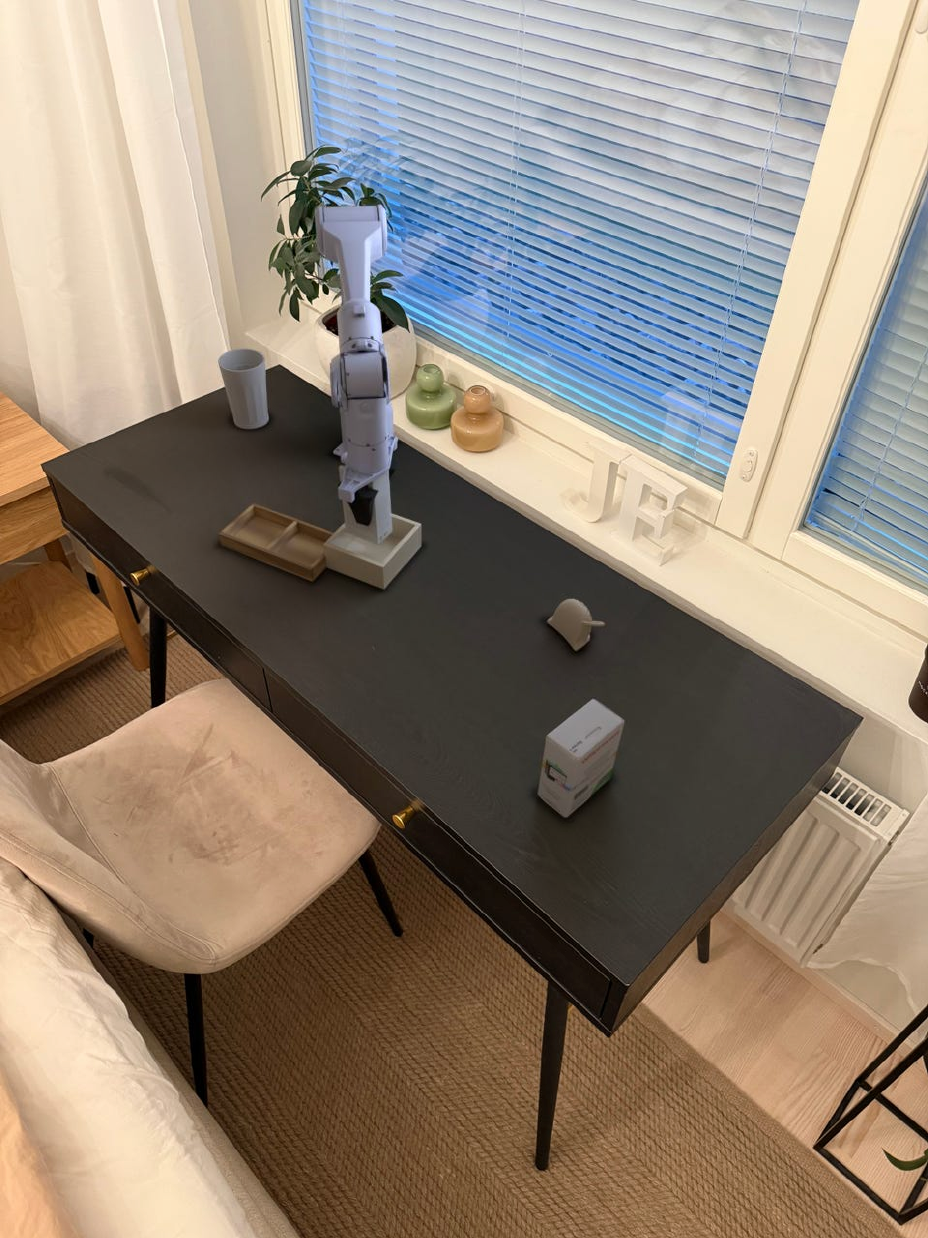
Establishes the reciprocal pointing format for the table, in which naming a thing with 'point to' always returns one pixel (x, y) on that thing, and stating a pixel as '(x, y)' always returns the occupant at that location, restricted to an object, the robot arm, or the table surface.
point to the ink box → (579, 757)
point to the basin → (373, 552)
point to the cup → (245, 386)
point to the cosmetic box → (380, 513)
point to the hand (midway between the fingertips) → (371, 513)
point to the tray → (278, 541)
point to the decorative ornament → (573, 622)
